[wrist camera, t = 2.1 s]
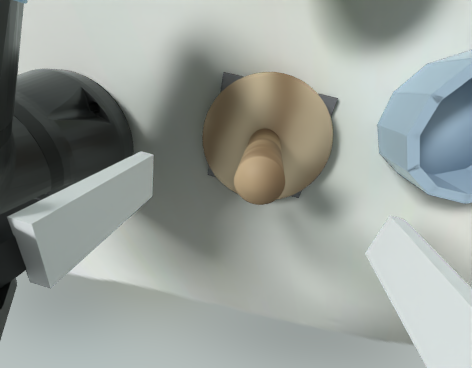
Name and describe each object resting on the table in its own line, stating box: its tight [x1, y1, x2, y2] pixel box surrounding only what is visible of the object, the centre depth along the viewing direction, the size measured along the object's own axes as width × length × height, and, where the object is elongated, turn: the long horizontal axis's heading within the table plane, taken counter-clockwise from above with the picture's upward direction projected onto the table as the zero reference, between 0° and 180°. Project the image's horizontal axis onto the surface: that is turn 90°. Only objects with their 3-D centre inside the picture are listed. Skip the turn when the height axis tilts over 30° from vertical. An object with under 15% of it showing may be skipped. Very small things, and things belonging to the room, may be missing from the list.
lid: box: [202, 72, 333, 205], centre depth 19 cm, size 14×14×12 cm
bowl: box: [377, 50, 472, 204], centre depth 19 cm, size 12×12×6 cm
